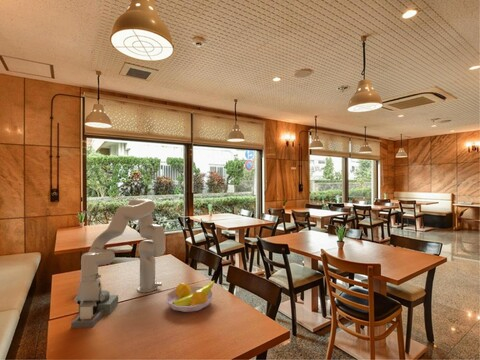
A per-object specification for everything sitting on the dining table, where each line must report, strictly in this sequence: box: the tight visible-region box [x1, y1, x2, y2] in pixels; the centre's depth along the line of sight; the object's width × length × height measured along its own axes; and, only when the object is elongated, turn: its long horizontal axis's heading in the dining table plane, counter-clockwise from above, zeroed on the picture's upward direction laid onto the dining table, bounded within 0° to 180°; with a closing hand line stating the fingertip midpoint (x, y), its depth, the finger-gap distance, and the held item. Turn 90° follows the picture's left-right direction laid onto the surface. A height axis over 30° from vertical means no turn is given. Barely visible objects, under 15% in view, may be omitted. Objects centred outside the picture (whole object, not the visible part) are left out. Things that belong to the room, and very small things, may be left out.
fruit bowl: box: [165, 280, 215, 313], centre depth 150 cm, size 28×27×11 cm
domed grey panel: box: [70, 289, 119, 329], centre depth 138 cm, size 16×24×8 cm
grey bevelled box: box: [79, 301, 98, 319], centre depth 133 cm, size 5×8×7 cm, turn 4°
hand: (89, 312), depth 133 cm, fingers closed on grey bevelled box, 5 cm apart
